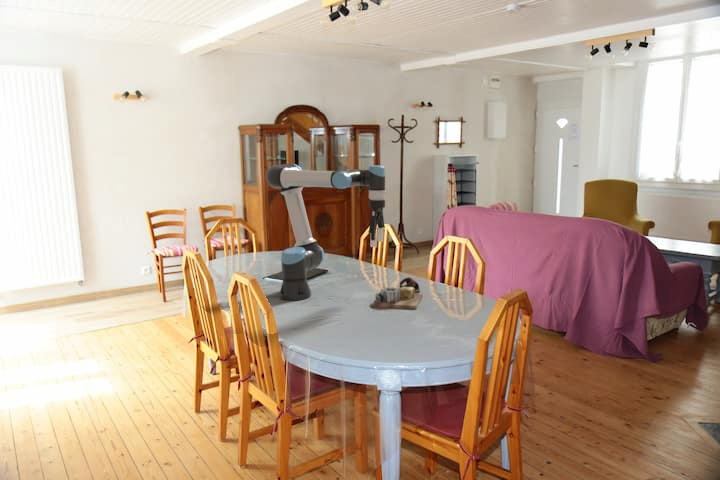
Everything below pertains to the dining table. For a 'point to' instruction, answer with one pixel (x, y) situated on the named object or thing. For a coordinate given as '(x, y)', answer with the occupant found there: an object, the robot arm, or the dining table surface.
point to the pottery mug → (410, 283)
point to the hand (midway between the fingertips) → (376, 244)
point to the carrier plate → (407, 299)
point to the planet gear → (390, 295)
